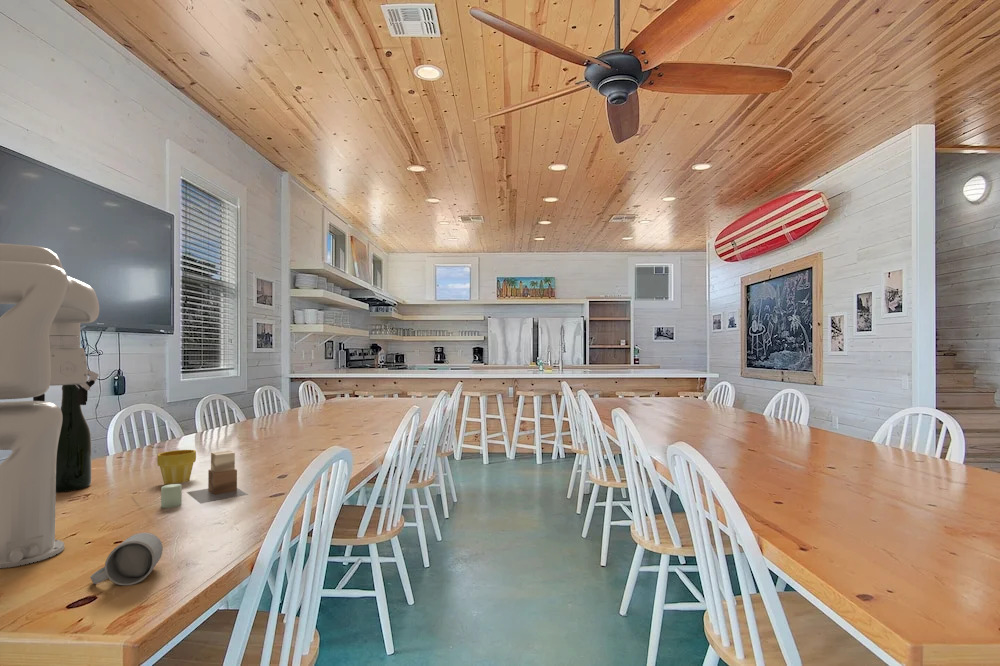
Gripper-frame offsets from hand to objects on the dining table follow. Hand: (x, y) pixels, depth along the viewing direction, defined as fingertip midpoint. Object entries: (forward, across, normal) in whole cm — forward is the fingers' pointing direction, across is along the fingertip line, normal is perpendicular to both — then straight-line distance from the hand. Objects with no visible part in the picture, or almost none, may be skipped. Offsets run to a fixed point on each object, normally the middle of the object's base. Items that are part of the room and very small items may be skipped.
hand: (61, 406), depth 141 cm
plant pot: (+27, +29, -5) cm, 40 cm away
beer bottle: (+27, +13, +21) cm, 37 cm away
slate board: (+27, +24, -30) cm, 47 cm away
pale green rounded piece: (+27, +11, -28) cm, 41 cm away
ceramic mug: (+28, -20, -62) cm, 70 cm away
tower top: (+20, +26, -29) cm, 44 cm away
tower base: (+26, +26, -29) cm, 47 cm away
